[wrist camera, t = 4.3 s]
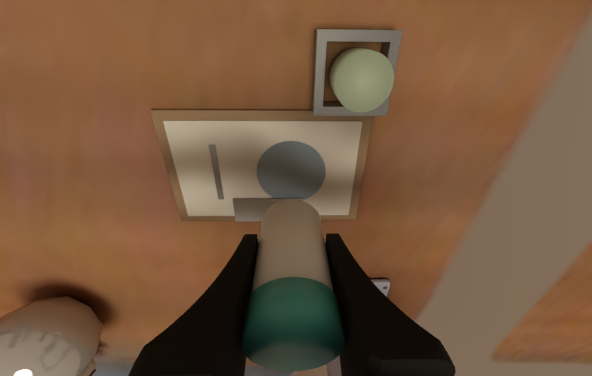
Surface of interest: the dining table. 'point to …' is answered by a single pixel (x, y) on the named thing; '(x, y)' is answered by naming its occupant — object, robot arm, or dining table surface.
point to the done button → (361, 79)
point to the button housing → (319, 106)
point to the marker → (292, 293)
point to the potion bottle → (49, 339)
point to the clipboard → (262, 161)
